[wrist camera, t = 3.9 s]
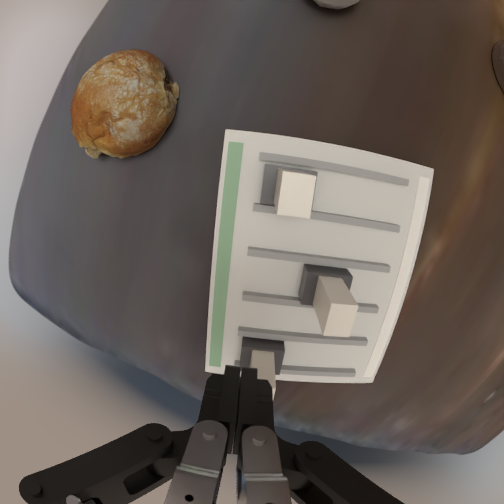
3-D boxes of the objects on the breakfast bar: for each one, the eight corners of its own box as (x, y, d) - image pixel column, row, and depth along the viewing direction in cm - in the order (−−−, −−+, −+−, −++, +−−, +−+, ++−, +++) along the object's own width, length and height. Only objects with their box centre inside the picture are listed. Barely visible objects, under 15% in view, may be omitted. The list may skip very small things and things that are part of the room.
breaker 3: (347, 268, 26) (372, 304, 19) (339, 298, 27) (360, 340, 20) (304, 263, 26) (317, 299, 19) (298, 294, 27) (308, 336, 20)
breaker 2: (313, 170, 24) (333, 175, 17) (308, 206, 25) (325, 224, 18) (264, 163, 24) (266, 165, 17) (260, 199, 25) (259, 215, 18)
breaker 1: (283, 339, 29) (288, 387, 22) (278, 362, 29) (282, 411, 23) (242, 335, 28) (238, 382, 22) (239, 358, 29) (234, 407, 23)
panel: (426, 168, 25) (438, 169, 22) (368, 374, 32) (373, 387, 30) (227, 130, 24) (224, 128, 22) (207, 363, 32) (204, 376, 29)
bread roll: (190, 134, 28) (207, 105, 21) (99, 185, 25) (83, 171, 18) (149, 61, 26) (155, 18, 18) (61, 106, 23) (41, 71, 15)
